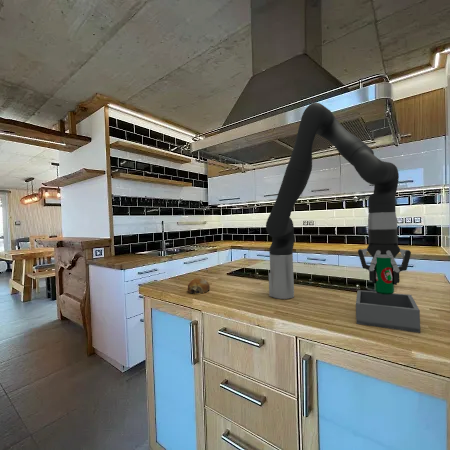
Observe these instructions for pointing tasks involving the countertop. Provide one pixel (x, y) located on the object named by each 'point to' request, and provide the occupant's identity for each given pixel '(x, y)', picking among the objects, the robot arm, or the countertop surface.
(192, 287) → the bread roll
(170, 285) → the countertop surface
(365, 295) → the bin
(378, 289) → the soda can
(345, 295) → the countertop surface
